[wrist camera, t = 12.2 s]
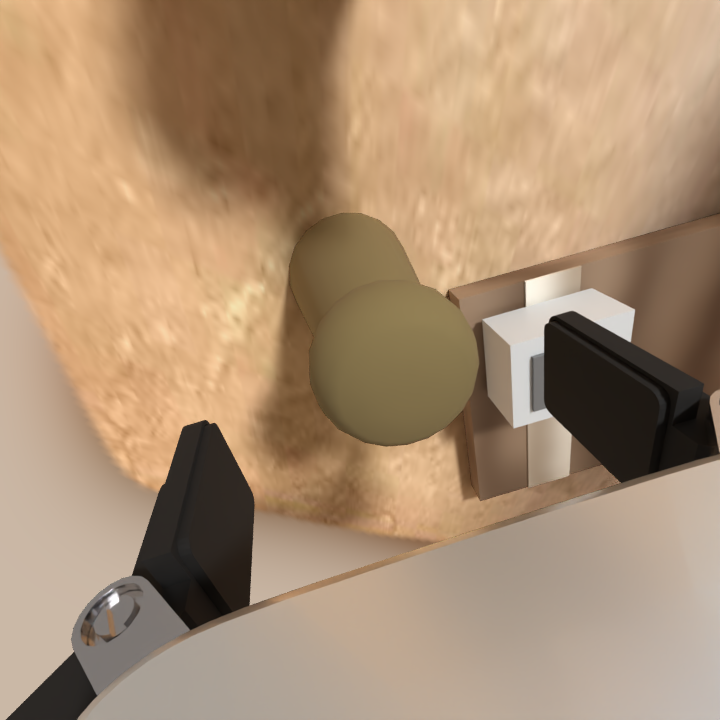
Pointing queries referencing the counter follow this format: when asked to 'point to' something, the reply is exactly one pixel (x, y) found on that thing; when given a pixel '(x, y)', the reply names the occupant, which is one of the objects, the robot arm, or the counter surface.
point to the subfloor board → (650, 332)
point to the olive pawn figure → (379, 334)
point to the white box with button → (537, 349)
